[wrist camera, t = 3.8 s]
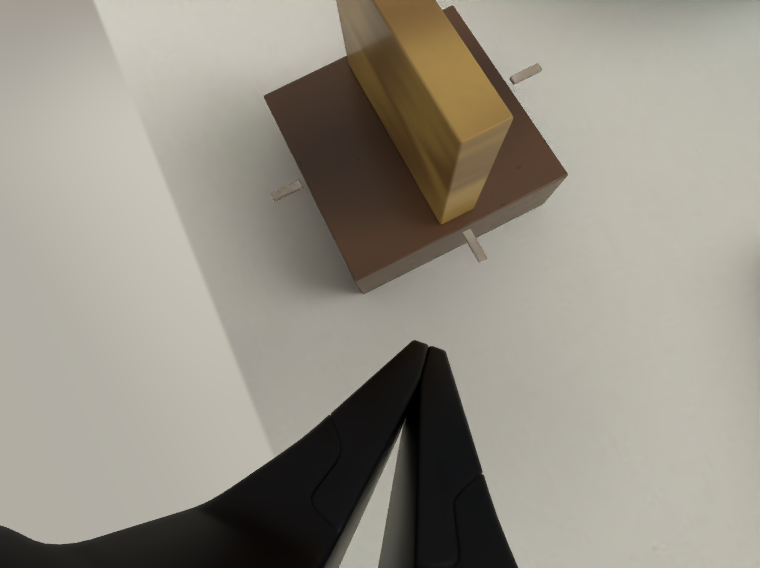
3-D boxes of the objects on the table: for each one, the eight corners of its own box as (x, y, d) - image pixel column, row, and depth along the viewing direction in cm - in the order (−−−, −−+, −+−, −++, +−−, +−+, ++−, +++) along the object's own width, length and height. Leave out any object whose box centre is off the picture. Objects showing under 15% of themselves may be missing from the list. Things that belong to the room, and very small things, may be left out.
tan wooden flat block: (474, 208, 16) (518, 110, 10) (440, 225, 16) (462, 138, 10) (378, 49, 18) (364, -117, 12) (348, 63, 18) (317, -95, 11)
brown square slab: (590, 216, 18) (626, 187, 15) (347, 339, 18) (336, 334, 15) (458, 21, 21) (466, -37, 18) (245, 123, 21) (217, 81, 18)
